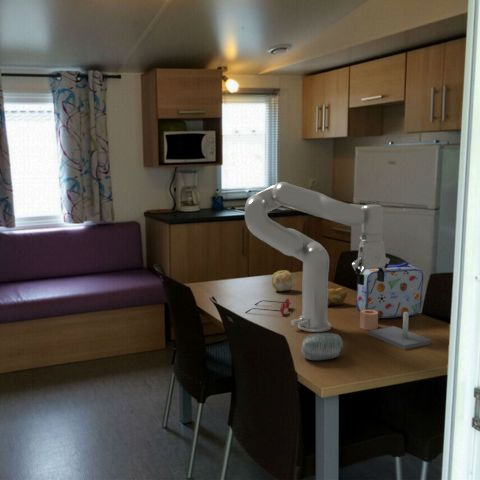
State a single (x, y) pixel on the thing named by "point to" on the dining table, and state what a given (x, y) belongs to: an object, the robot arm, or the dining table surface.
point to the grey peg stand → (400, 335)
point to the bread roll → (336, 296)
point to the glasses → (275, 310)
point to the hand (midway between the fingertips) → (370, 282)
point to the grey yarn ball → (322, 346)
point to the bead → (368, 319)
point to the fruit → (282, 280)
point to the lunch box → (391, 291)
